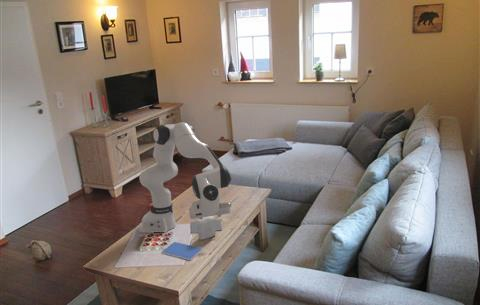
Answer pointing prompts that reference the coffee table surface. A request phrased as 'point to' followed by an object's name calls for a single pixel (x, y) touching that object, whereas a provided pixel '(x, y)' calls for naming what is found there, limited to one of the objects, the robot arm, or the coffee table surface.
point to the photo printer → (206, 227)
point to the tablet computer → (182, 251)
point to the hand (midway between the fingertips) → (209, 216)
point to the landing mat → (195, 226)
